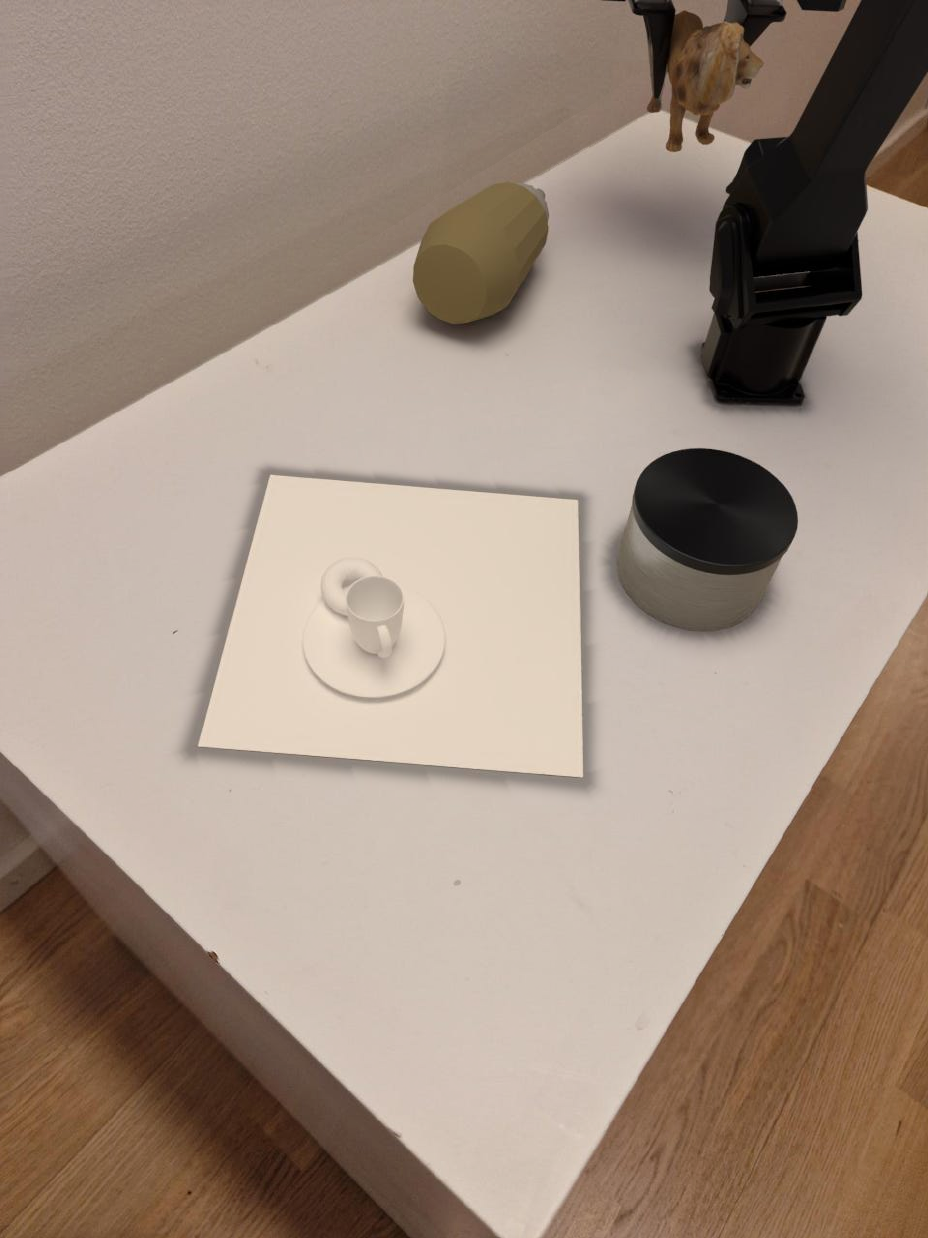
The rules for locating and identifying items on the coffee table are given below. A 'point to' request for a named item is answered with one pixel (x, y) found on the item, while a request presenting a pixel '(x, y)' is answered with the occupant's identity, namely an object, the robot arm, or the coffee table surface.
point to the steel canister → (704, 538)
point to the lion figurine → (704, 73)
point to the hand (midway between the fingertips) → (681, 97)
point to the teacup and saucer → (406, 629)
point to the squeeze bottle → (481, 252)
